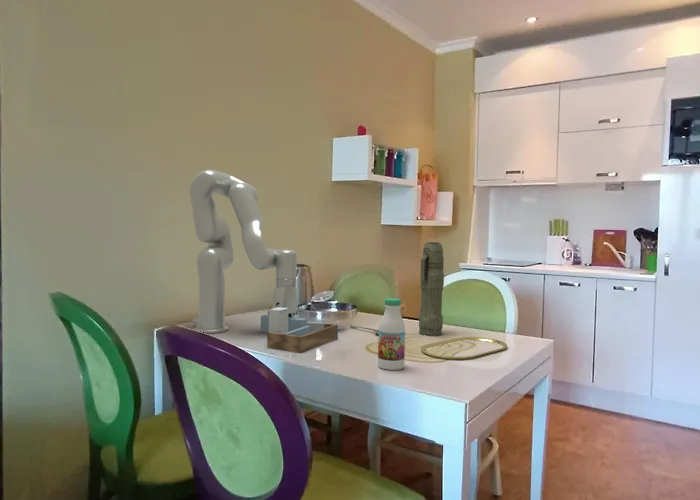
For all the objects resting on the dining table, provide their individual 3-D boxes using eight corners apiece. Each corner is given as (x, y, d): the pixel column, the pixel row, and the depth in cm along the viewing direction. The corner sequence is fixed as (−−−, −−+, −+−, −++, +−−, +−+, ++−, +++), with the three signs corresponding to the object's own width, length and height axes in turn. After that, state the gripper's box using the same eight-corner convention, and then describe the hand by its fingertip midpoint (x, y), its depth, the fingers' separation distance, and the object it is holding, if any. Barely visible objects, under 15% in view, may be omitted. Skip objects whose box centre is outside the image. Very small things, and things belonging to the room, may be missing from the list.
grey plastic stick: (296, 333, 196) (296, 322, 196) (297, 331, 199) (297, 321, 199) (328, 334, 196) (328, 323, 196) (328, 332, 199) (328, 322, 199)
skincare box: (279, 345, 174) (278, 310, 174) (268, 344, 176) (268, 309, 175) (288, 342, 179) (288, 307, 179) (278, 341, 181) (278, 307, 181)
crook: (233, 340, 181) (233, 323, 181) (266, 330, 199) (266, 314, 198) (281, 346, 173) (281, 328, 172) (310, 335, 190) (310, 319, 190)
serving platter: (517, 348, 181) (517, 344, 181) (455, 365, 157) (456, 359, 157) (472, 338, 195) (472, 334, 194) (409, 352, 171) (409, 348, 171)
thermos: (412, 334, 198) (414, 242, 196) (428, 329, 207) (431, 241, 205) (432, 338, 192) (435, 243, 191) (448, 333, 201) (451, 242, 200)
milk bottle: (376, 363, 156) (377, 296, 155) (401, 363, 156) (403, 297, 155) (379, 370, 148) (381, 300, 147) (406, 370, 149) (408, 301, 147)
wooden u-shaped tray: (267, 347, 172) (267, 332, 172) (306, 334, 194) (306, 321, 193) (301, 352, 166) (301, 337, 166) (337, 338, 188) (338, 324, 187)
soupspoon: (385, 341, 190) (397, 339, 195) (386, 332, 190) (398, 331, 194) (344, 329, 206) (356, 328, 210) (345, 320, 206) (357, 319, 210)
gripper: (290, 280, 201) (289, 327, 202) (264, 284, 186) (263, 335, 187) (306, 281, 198) (305, 329, 198) (281, 286, 183) (280, 337, 184)
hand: (285, 331), depth 193 cm, fingers closed on crook, 3 cm apart
